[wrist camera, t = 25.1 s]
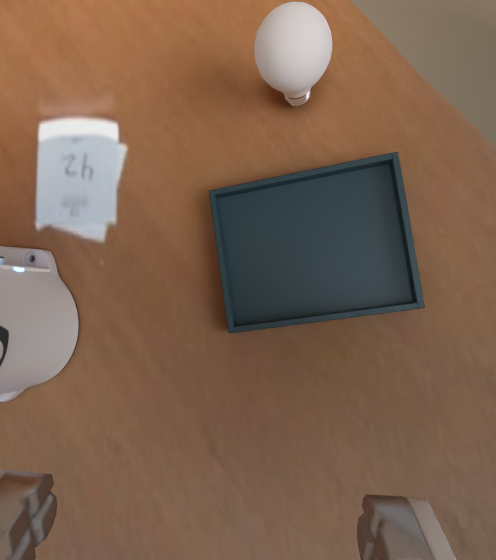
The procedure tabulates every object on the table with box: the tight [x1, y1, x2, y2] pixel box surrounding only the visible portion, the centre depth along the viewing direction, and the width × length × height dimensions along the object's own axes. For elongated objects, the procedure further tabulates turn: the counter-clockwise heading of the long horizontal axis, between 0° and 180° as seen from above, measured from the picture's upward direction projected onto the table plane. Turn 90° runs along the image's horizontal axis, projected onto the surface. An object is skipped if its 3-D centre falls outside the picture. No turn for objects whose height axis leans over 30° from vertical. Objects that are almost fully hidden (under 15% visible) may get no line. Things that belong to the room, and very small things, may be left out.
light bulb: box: [254, 2, 332, 106], centre depth 34 cm, size 7×7×11 cm
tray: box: [209, 152, 425, 333], centre depth 38 cm, size 19×15×2 cm
